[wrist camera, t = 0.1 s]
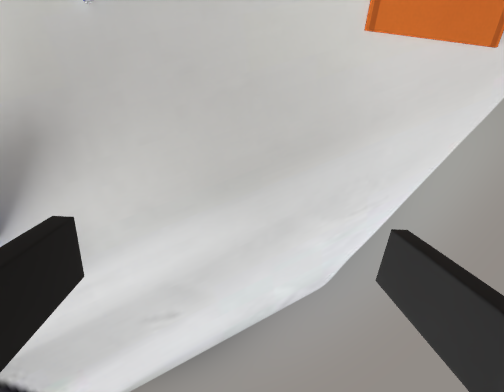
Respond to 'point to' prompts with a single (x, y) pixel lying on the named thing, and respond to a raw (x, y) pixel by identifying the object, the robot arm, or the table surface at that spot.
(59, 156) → the table surface
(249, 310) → the table surface
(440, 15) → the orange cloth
